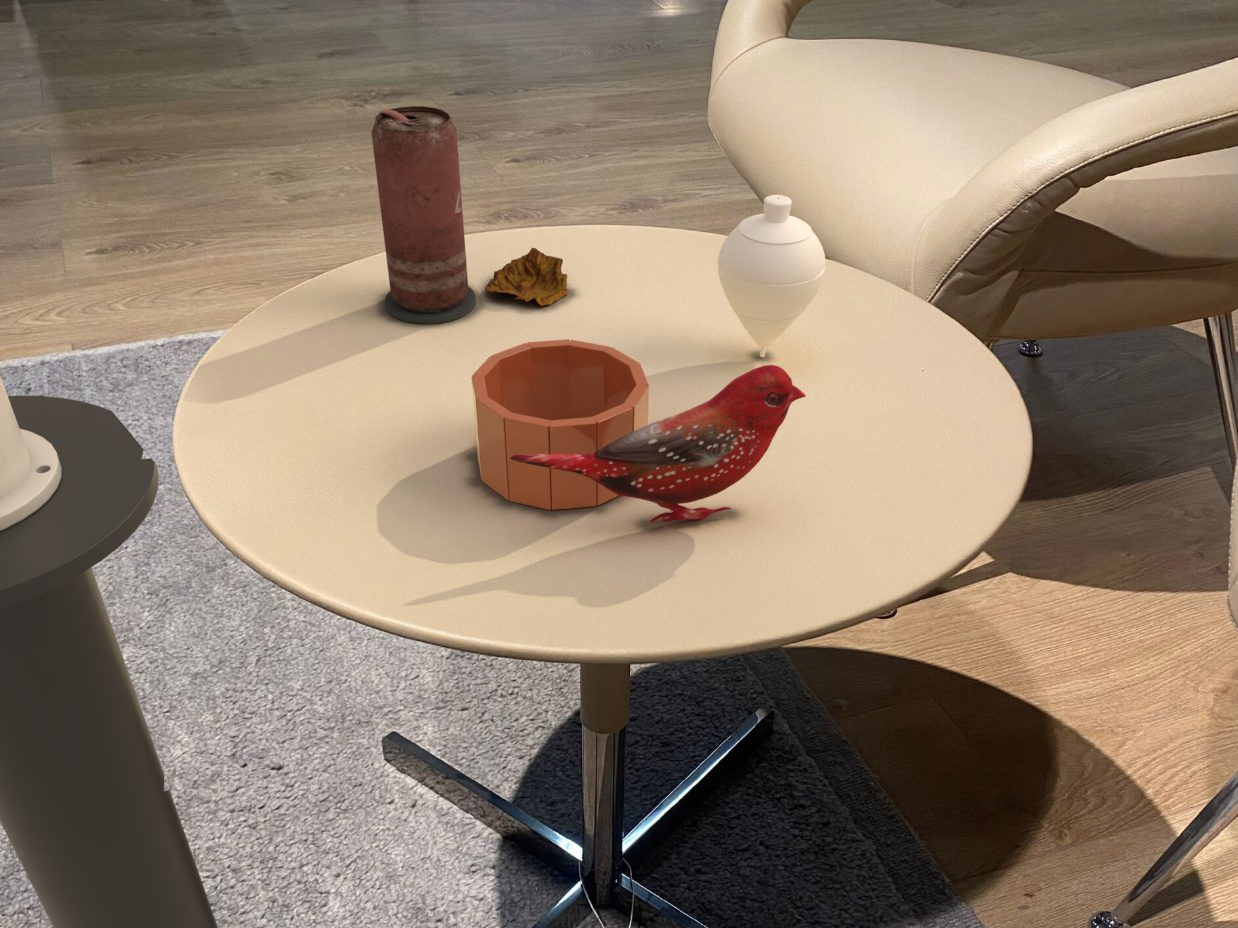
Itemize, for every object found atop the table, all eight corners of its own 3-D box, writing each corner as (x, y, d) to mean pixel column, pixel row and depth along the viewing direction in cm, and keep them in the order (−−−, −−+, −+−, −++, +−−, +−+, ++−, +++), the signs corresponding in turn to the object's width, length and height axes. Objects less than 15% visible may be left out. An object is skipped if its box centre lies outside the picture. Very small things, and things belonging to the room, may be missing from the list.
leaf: (470, 295, 97) (469, 277, 96) (521, 258, 101) (520, 240, 100) (535, 323, 95) (534, 305, 94) (583, 284, 99) (584, 266, 97)
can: (410, 276, 98) (391, 98, 89) (481, 288, 96) (468, 108, 87) (375, 307, 94) (350, 123, 85) (447, 320, 92) (431, 134, 83)
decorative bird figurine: (800, 518, 74) (820, 373, 67) (519, 559, 70) (511, 410, 64) (783, 492, 76) (801, 349, 69) (510, 531, 72) (501, 384, 66)
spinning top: (831, 371, 88) (854, 211, 80) (738, 389, 86) (752, 226, 78) (784, 326, 93) (801, 172, 86) (695, 342, 91) (704, 185, 83)
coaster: (387, 327, 92) (386, 321, 92) (383, 287, 98) (383, 281, 97) (479, 320, 93) (479, 314, 93) (471, 281, 99) (471, 275, 98)
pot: (487, 516, 73) (481, 432, 69) (472, 426, 81) (465, 346, 77) (659, 500, 75) (662, 417, 71) (627, 413, 83) (628, 334, 79)
